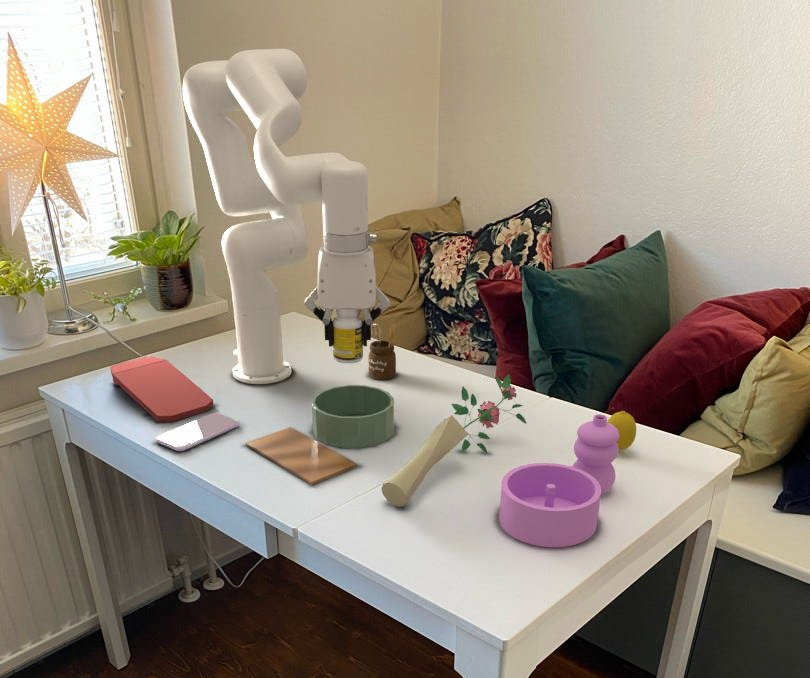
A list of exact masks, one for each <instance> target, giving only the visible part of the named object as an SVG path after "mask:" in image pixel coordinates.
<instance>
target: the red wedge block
mask: <svg viewBox="0 0 810 678" xmlns="http://www.w3.org/2000/svg"><path fill="white" fill-rule="evenodd" d="M109 368H110V373H111V376H112V382H113V384H115V386H117V387H120V388H121V389H122V390H124V391H125V393H127V394H128V395H129V396H130V397H131V398H132V399H133V400H134V401H135V402H136V403H137V404H139V405H140V406H141V407H142V408H143V409H144V410H145V411H146V412H147V413H148V414H149V415H150V416H151V417H152V418H153V419H155V420H156V421H157V422H158V423H169V422H170V423H171V422H172V423H173V422H175V421H178V420H182V419H185V418H189V417H191V416H196V415H198V414H202V413H205V412H208V410H210V409H211V408H212V407H213V406H214V399H213V398H212V397H211V396H210V395H208V394H207V393H206V392H205V391H204V390H203V389H202V388H200V387H199V386H198V385H197V384H195V382H193V381H192V380H191V379H190V378H189V377H187V376H186V375H185V374H184V373H183V372H182V371H180V370H179V369H178V368H177V367H176V366H175V365H174V364H172V363H171V362H170V361H169V360H168V359H165V358H160V357H156V356H152V355H151V356H143V357H140V358H136V359H131V360H128V361H123V362H120V363H116V364H112V365H110V366H109Z"/></svg>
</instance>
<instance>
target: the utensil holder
mask: <svg viewBox="0 0 810 678" xmlns="http://www.w3.org/2000/svg"><path fill="white" fill-rule="evenodd" d="M373 326H374V327H373ZM376 326H377V327H378V331H379V332H378V333H379V335H377V332H375V336H379V337H378V338H379V340H378V338H374V336H373V335H374V334H373V330H371V338H372V341H371V342H370V344H369V353H368V359H367V360H368V361H367V362H368V364H367V365H368V366H367V367H368V374H369V377H370V378H371V379H374V380H380V381H384V380H385V381H386V380H391V379H393V378H394V377H395V376H396V373H397V356H396V352H395V343H394V342H393V341H392V339H393V338H394V336H395V333H396V327H397V323H393V324H391V325H390V329H389V330H390V331H389V334H388V339H389V340H385V339H382V333H381V330H382V328H381V327H379V324H378V323H372V324H371V327H373V328H374V330H377V329H376ZM375 339H376V340H375Z"/></svg>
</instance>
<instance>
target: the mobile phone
mask: <svg viewBox="0 0 810 678" xmlns="http://www.w3.org/2000/svg"><path fill="white" fill-rule="evenodd" d="M239 426H240V422H239V420H237V419H234V418H231V417H229V416H226V415H224V414H221V413H219V412H212V413H210V414H207V415H205V416H203V417H200V418H198V419H195V420H193V421H191V422H189V423H186V424H184V425H182V426H179V427H176V428H174V429H173V430H170V431H167V432H165V433H163V434H160V435H158V436H157V437H156V438H155V441H156V442H157V443H158V444H160V445H162V446H165V447H167V448H169V449H172V450H174V451H177V452H185V451H187V450H189V449H191V448H194V447H196V446H198V445H200V444H203V443H204V442H206V441H209V440H211V439H213V438H215V437H218V436H220V435H223V434H224V433H227V432H229V431H231V430H234V429H235V428H238V427H239Z"/></svg>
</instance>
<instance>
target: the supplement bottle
mask: <svg viewBox="0 0 810 678" xmlns="http://www.w3.org/2000/svg"><path fill="white" fill-rule="evenodd" d="M335 310H336V312H335V313H336V316H335V317H334V318H333V320H332V321H333V346H332V355H333V356H332V358H333V360H334V361H336V362H338V363H340V364H356V363H359V362H361V361H362V360H363V358H364V346H363V321H364V320H363V319H362V317H360V316H359V315H360V309H335Z"/></svg>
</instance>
